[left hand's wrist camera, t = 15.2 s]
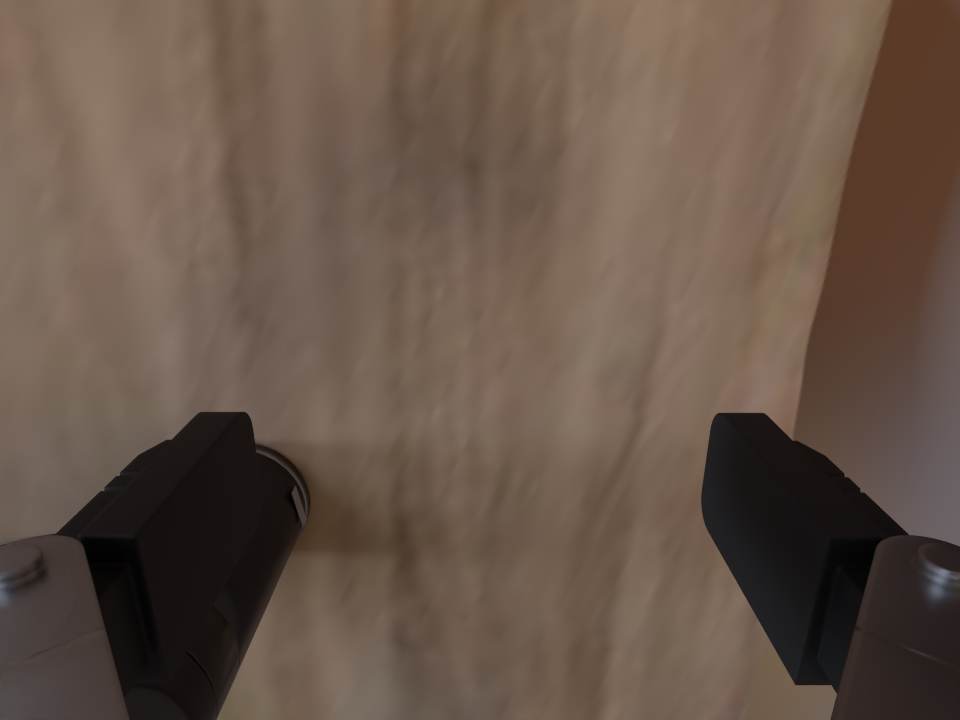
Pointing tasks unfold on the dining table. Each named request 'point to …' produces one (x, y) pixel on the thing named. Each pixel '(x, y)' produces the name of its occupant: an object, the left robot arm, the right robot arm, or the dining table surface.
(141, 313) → the dining table surface
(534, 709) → the dining table surface
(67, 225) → the dining table surface
